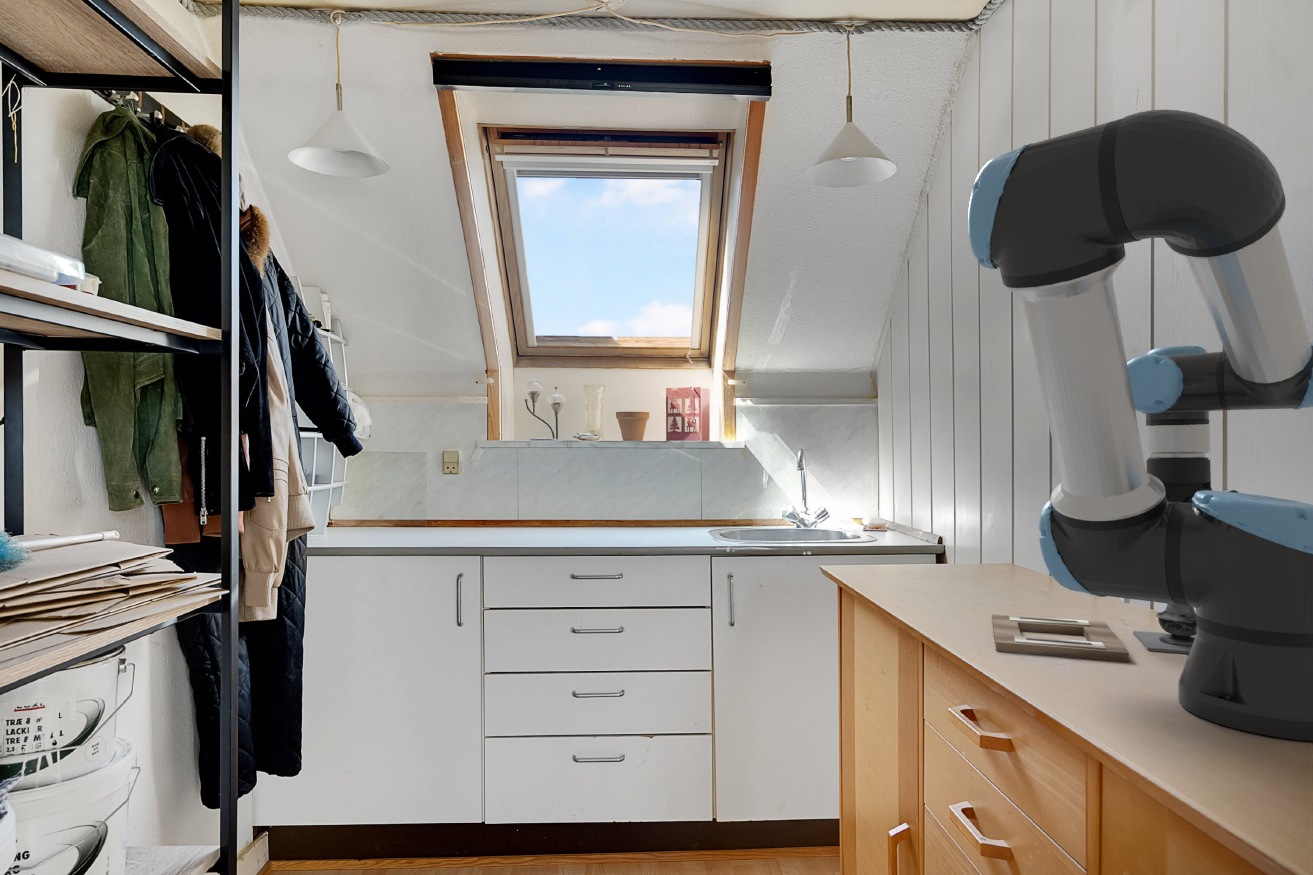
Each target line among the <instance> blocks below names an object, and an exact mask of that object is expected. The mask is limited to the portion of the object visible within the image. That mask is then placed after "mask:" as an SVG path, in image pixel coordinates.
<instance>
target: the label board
mask: <svg viewBox="0 0 1313 875" xmlns="http://www.w3.org/2000/svg"><path fill="white" fill-rule="evenodd" d="M991 624H992V633H993V639H994V646H995V651H996V652H1007V653H1008V652H1009V653H1021V654H1031V655H1044V656H1057V657H1067V658H1076V659H1077V658H1078V659H1087V660H1088V659H1089V660H1091V659H1092V660H1103V661H1114V662H1124V663H1125V662H1126V663H1129V662H1130V658H1129V657H1130V653H1129V651H1128V650H1127V649H1126V647H1125V646H1124V645H1123V643H1122V642H1121V641H1120V639H1119V638H1118V637H1117V636H1116V634H1115V633H1114V632H1113V631H1112V629H1111V628H1110V627H1109V625H1108V623H1107V622H1105V621H1093V620H1086V619H1085V620H1084V619H1069V618H1053V617H1041V616H1027V615H1025V616H1024V615H1014V614H1012V615H1011V614H1009V615H1006V614H991ZM1021 631H1026V632H1038V633H1039V632H1040V633H1051V634H1062V635H1063V634H1066V635H1078V636H1079V635H1080V636H1084V639H1086V640H1077V639H1076V640H1075V639H1065V638H1064V639H1062V638H1050V637H1037V636H1036V637H1035V636H1026V635H1025V636H1024V635H1023V636H1022V634H1021Z"/></svg>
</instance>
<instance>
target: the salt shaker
mask: <svg viewBox="0 0 1313 875" xmlns="http://www.w3.org/2000/svg"><path fill="white" fill-rule="evenodd" d="M1155 617H1156V618H1158V619H1157V620H1158V623H1159V625H1160V627H1161V629H1162V630H1163V631H1165V633H1170V634H1168V635H1163V636H1161V637H1159V640H1160V641H1161V642H1164V643H1167V644H1171V645H1176V646H1185V647H1192V645H1193V643H1194V640H1195V638H1194V637H1191V636H1193V635H1196V633H1197V616H1196V609H1195V607H1191V606H1183V605H1175V604H1167V603H1166V607H1165V610H1164V611H1160V612H1156V614H1155Z"/></svg>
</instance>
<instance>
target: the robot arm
mask: <svg viewBox="0 0 1313 875" xmlns="http://www.w3.org/2000/svg"><path fill="white" fill-rule="evenodd" d="M1286 200H1287V199H1286V195H1285V191H1284V186H1283V184H1282V181H1281V178H1280V175H1279V173H1278V170H1277V169H1276V167H1275V165H1273V163H1272V161H1271V160H1270V159H1269V157H1268V156H1267V155H1266V154H1265V153H1264V152H1263V151H1262V149H1260V147H1258V146H1257V145H1256V144H1255V143H1254V142H1253V141H1251V140H1250V139H1249V138H1248V137H1247V136H1245V135H1243V134H1242V133H1240V132H1239V131H1237V130H1236V129H1234V128H1232V127H1230V126H1229V125H1226V124H1224V123H1222V122H1221V121H1219V120H1216V119H1213V118H1210V117H1207V116H1204V115H1201V114H1198V113H1197V112H1191V111H1185V110H1178V109H1152V110H1145V111H1139V112H1136V113H1133V114H1130V115H1126V116H1124V117H1122V118H1118V119H1116V120H1113V121H1109V122H1108V121H1107V122H1105V123H1102V124H1098V125H1094V126H1091V127H1088V128H1084V129H1080V130H1077V131H1073V132H1070V133H1069V132H1068V133H1067V134H1063V135H1062V134H1061V135H1058V136H1056V137H1052V138H1048V139H1044V140H1041V141H1038V142H1033V143H1032V142H1031V143H1029V144H1025V145H1023V146H1020V147H1018V148H1015V149H1014V150H1010V151H1007V152H1006V153H1002V154H1000V155H998V156H994V157H993V158H991V159H990V160H988V161H987V162H986V164H984V166H983V167H982V168H981V169H980V171H979V173H978V174H977V177H976V178H975V181H974V183H973V186H972V190H971V194H970V199H969V204H968V212H967V213H968V217H967V219H968V220H967V223H968V225H967V227H968V236H969V237H968V238H969V243H970V248H971V251H972V254H973V255H974V257H975V258H976V259H977V262H978V264H979V265H981V266H982V267H983V268H986V269H990V270H996V269H997V270H998V269H999V271H1000V277H1001V280H1002V285H1003V287H1004V288H1005V289H1006V290H1008V291H1009V292H1011V293H1013V294H1015V295H1017V296H1019V297H1021V300H1022V305H1023V309H1024V314H1025V318H1026V323H1027V328H1028V332H1029V337H1030V342H1031V343H1030V344H1031V346H1032V351H1033V356H1034V361H1035V366H1036V370H1037V375H1038V379H1039V383H1040V389H1041V392H1042V398H1043V403H1044V407H1045V411H1046V412H1045V413H1046V417H1047V420H1048V426H1049V431H1050V435H1051V441H1052V444H1053V449H1054V454H1055V459H1056V463H1057V467H1058V468H1057V469H1058V472H1059V476H1060V477H1059V478H1060V483H1059V484H1058V485H1057V486H1056V487H1055V488H1054V489H1053V490H1052V492H1051V495H1050V499H1049V500H1048V501H1047V502H1046V503H1045V504H1044V506H1043V507H1042V509H1041V513H1040V517H1039V524H1038V525H1039V526H1038V530H1039V531H1040V537H1039V538H1038V539H1039V540H1038V541H1039V547H1040V552H1041V555H1042V559H1043V561H1044V565H1045V567H1046V569H1047V571H1048V572H1049V574H1050V575H1051V577H1052V579H1054V580H1055V582H1056V583H1058V584H1059V585H1060V586H1061V587H1063V588H1065V589H1067V590H1069V591H1073V592H1079V593H1085V594H1088V595H1090V596H1096V597H1100V598H1106V597H1112V598H1119V600H1120V601H1122V602H1123V603H1124V604H1130V603H1131V600H1137V601H1145V602H1153V603H1160V604H1161V603H1162V604H1166V605H1167V604H1175V605H1183V606H1191V607H1194V609H1195V613H1196V616H1197V633H1196V637H1195V640H1194V643H1193V645H1192V648H1191V650H1190V653H1189V654H1187V655H1188V656H1187V658H1186V661H1185V663H1184V665H1183V669H1182V671H1181V674H1180V677H1179V680H1178V702H1179V704H1180V705H1181V706H1182V707H1183V708H1184V710H1185V709H1186V710H1187V711H1189V712H1190V713H1192V714H1194V715H1195V716H1198V717H1200V718H1203V719H1205V720H1208V721H1211V722H1213V723H1215V724H1218V725H1219V724H1220V725H1223V726H1226V727H1229V728H1232V729H1237V730H1240V731H1245V732H1249V733H1254V734H1259V735H1264V736H1268V737H1269V736H1270V737H1274V738H1275V737H1276V738H1281V739H1290V740H1296V741H1297V740H1299V741H1308V742H1309V741H1311V742H1313V504H1310V503H1306V502H1302V501H1297V500H1292V499H1287V498H1280V497H1275V496H1273V497H1272V496H1268V495H1267V496H1266V495H1258V494H1253V493H1252V494H1250V493H1244V492H1239V491H1237V490H1234V489H1229V488H1228V489H1225V490H1223V491H1221V490H1213V489H1212V478H1211V477H1212V476H1211V473H1212V471H1211V469H1212V468H1211V459H1210V458H1209V457H1207V456H1206V454H1209V453H1210V452H1211V435H1210V434H1211V432H1210V412H1216V411H1217V412H1220V411H1221V412H1222V411H1243V410H1244V411H1245V410H1246V411H1248V410H1250V411H1251V410H1281V409H1283V410H1285V409H1287V410H1288V409H1293V410H1301V409H1305V408H1313V342H1311V339H1310V336H1309V333H1308V329H1307V325H1306V322H1305V319H1304V315H1303V311H1302V307H1301V304H1300V301H1299V297H1298V293H1297V289H1296V286H1295V283H1294V279H1293V275H1292V271H1291V268H1290V265H1289V260H1288V257H1287V254H1286V250H1285V246H1284V242H1283V238H1282V235H1281V232H1280V228H1279V224H1280V222H1281V220H1282V218H1283V217H1284V214H1285V211H1286V205H1287V202H1286ZM1156 238H1157V239H1158V238H1160V239H1163V240H1164V242H1165V243H1166V245H1167V246H1168V248H1169V249H1170V250H1171V251H1172V252H1174V253H1175V254H1178V255H1180V256H1182V257H1185V259H1186V262H1187V264H1188V267H1189V268H1190V271H1191V273H1192V276H1193V279H1194V280H1195V283H1196V285H1197V288H1198V290H1199V292H1200V294H1201V296H1202V299H1203V301H1204V304H1205V306H1206V309H1207V311H1208V314H1209V316H1210V319H1211V320H1212V322H1213V326H1214V328H1215V330H1216V332H1217V335H1218V336H1219V339H1220V342H1221V344H1222V347H1223V349H1224V351H1223V350H1222V351H1216V352H1215V351H1213V352H1208V351H1207V349H1205V348H1204V347H1202V346H1198V345H1180V346H1179V345H1178V346H1177V345H1176V346H1165V347H1157V348H1154V349H1151V350H1148V351H1147V352H1146V353H1145V355H1139V356H1136V357H1134V358H1132V359H1131V360H1129V361H1128V360H1127V357H1126V350H1125V346H1124V344H1125V343H1124V339H1123V334H1122V333H1123V332H1122V326H1121V322H1120V315H1119V310H1118V305H1117V299H1116V294H1115V289H1114V282H1113V275H1114V273H1115V272H1116V271H1117V269H1118V268H1119V267H1120V266H1121V265H1122V263H1123V262H1124V261H1125V260H1126V259H1127V255H1126V248H1125V244H1128V243H1129V244H1130V243H1135V242H1140V241H1142V240H1146V239H1156ZM1136 412H1140V413H1142V414H1145V435H1146V436H1145V443H1146V444H1145V445H1146V447H1145V448H1146V450H1145V451H1146V453H1147V454H1150V457H1148V458H1147V459H1146V463H1145V460H1144V454H1143V448H1142V442H1141V441H1142V440H1141V437H1140V436H1141V435H1140V431H1139V430H1140V429H1139V425H1138V418H1137V413H1136ZM1145 464H1146V465H1145Z"/></svg>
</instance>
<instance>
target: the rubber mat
mask: <svg viewBox="0 0 1313 875" xmlns="http://www.w3.org/2000/svg"><path fill="white" fill-rule="evenodd" d="M1132 634H1133V635H1134V637H1136V639H1137V640H1138V641H1139V642H1140V643H1141V644H1142V646H1143V647H1144V648H1145V649H1146V650H1147V651H1150V652H1159V653H1160V652H1161V653H1173V654H1175V653H1176V654H1184V655H1185V654H1187V655H1189V653H1190V650H1191V648H1192V647H1185V646H1176V645H1171V644H1167V643H1164V642H1161V641H1160V640H1159V637H1161V636H1163V635H1168V634H1170V633H1168V632H1155V631H1154V632H1153V631H1141V630H1133V631H1132ZM1191 637H1194V638H1195V637H1196V635H1193V636H1191Z"/></svg>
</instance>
